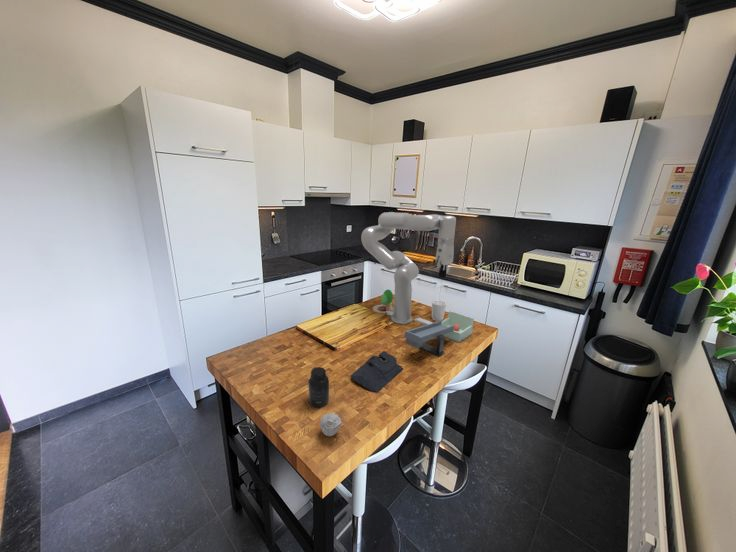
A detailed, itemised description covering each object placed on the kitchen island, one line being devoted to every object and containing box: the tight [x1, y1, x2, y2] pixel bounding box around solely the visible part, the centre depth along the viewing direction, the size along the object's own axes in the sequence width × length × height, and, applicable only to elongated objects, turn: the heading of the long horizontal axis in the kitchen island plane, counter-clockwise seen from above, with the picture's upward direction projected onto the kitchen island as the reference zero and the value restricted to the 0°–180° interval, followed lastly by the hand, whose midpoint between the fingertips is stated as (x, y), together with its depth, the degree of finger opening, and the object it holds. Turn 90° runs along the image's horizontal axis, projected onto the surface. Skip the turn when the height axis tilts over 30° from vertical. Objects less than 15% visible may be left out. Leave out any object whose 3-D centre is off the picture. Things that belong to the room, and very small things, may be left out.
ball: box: [453, 324, 460, 332], centre depth 150 cm, size 4×4×4 cm
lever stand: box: [419, 335, 445, 358], centre depth 132 cm, size 13×5×9 cm, turn 46°
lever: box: [403, 317, 455, 349], centre depth 134 cm, size 16×30×5 cm, turn 136°
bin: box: [441, 310, 475, 344], centre depth 148 cm, size 14×14×9 cm
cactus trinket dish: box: [372, 289, 394, 314], centre depth 178 cm, size 15×14×14 cm
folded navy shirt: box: [350, 350, 404, 393], centre depth 115 cm, size 15×22×5 cm
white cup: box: [431, 299, 447, 322], centre depth 166 cm, size 8×8×10 cm
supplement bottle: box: [307, 366, 330, 408], centre depth 97 cm, size 7×7×12 cm
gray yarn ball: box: [319, 413, 342, 437], centre depth 85 cm, size 6×7×7 cm
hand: (442, 277), depth 146 cm, fingers closed
